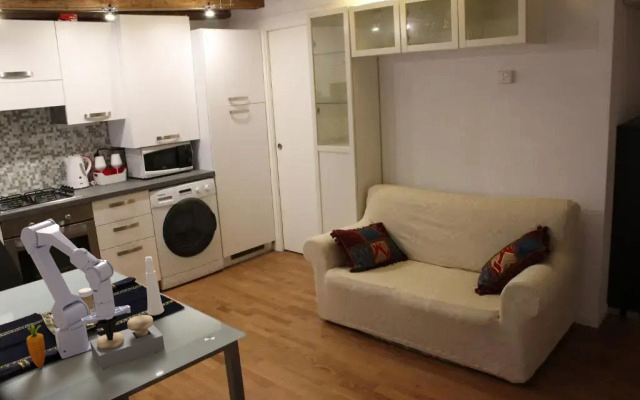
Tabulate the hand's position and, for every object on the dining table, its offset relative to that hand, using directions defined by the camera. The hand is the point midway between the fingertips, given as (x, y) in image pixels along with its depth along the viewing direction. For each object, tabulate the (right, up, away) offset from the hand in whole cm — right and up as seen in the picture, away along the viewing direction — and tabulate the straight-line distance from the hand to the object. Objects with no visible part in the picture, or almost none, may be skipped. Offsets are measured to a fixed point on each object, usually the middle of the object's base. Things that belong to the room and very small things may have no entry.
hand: (110, 339), depth 177 cm
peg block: (+4, -5, +4) cm, 8 cm away
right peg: (+8, -1, +6) cm, 10 cm away
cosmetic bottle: (+5, +2, +32) cm, 33 cm away
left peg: (0, -6, +2) cm, 6 cm away
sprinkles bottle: (-16, -1, +25) cm, 30 cm away
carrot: (-21, -9, -3) cm, 23 cm away
